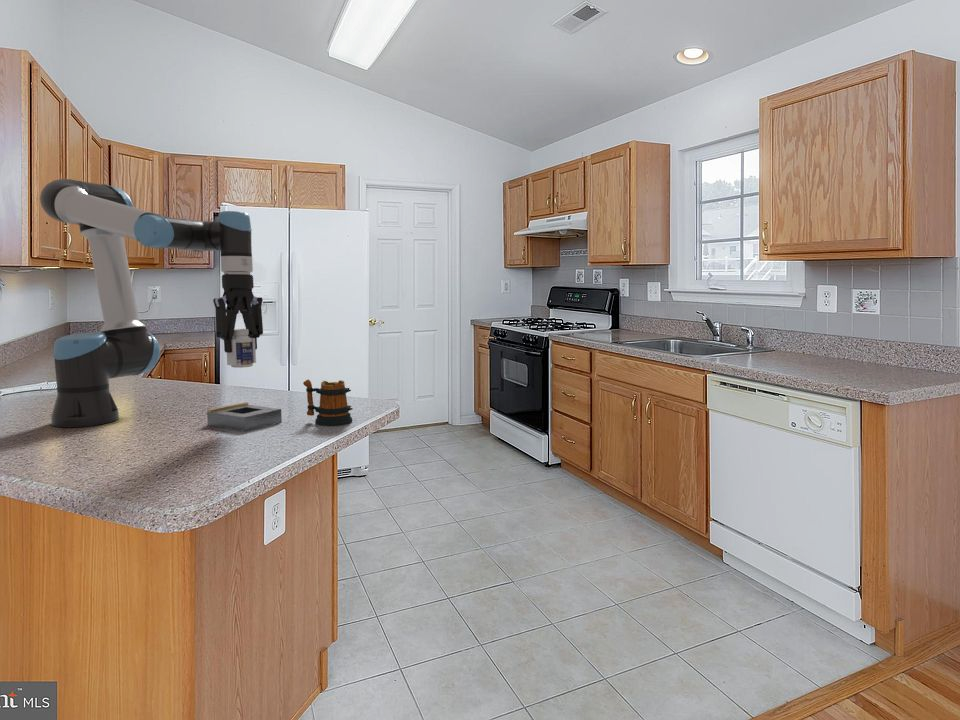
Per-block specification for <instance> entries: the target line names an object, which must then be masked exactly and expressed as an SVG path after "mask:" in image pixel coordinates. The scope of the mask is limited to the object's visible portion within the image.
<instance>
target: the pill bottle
mask: <svg viewBox="0 0 960 720" xmlns="http://www.w3.org/2000/svg"><path fill="white" fill-rule="evenodd" d="M248 334H249V331H248V329H246V328H234V334H233V339H232V340H236V358H237V365H236V366H233V365H230V367H231V368H240V369H241V368H249V367H253V366H254V363H253V354H252V339H251V338H250V337H248Z"/></svg>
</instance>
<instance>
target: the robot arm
mask: <svg viewBox="0 0 960 720" xmlns="http://www.w3.org/2000/svg"><path fill="white" fill-rule="evenodd" d="M39 202H40V206H41V208H42V210H43V211H44V212H45V214H46V215H47V216H48V217H50V218H51V219H53V220H55V221H58V222H61V223H63V224H65V223H66V224H70V225H78V227H79V232H80V235H81V236H83V238H85V239H86V240H87V241H88V245H89V251H90V255H91V261H92V265H93V271H94V276H95V277H94V278H95V281H96V289H97V292H98V298H99V303H100V304H99V305H100V309H101V314H102V318H103V326H102V328H100V330H99V331H88V332H81V333H73V334H69V335H64V336H61V337H58V338H57V339H56V340H55V341H54V343H53V354H52V356H53V359H54V368H55V369H54V370H55V381H56V390H57V391H56V392H57V393H56V399H55V403H54V406H53V409H52V413H51V415H50V416H51V421H50V422H51V425H52V426H53V427H55V428H56V427H57V428H83V427H91V426H99V425H103V424H108V423H109V424H110V423H112V422H115V421H117V420H118V419H120V417H119V416H120V415H119V414H120V413H119V409H118V407H117V405H116V403H115V400H114V398H113V396H112V393H111V391H110V384H109V382H110V381H109V379H110V380H111V379H117V378H123V377H129V376H139V375H141V374H146V373H148V372H151V371H152V370H153V369H154V368H155V366H156V364H158V362H159V359H160V357H161V356H160V355H161V349H160V348H161V347H160V343H159V341H158V339H157V338H155V336H154V335H153V334H151V333H149V332H148V330H147V329H148V328H147V326H146V325H145V324H144V323H143V322H141V321H140V320H139V319H140V318H139V314H138V309H137V302H136V298H135V293H134V288H133V283H132V282H133V281H132V277H131V271H130V266H129V261H128V256H127V250H126V244H125V239H124V238H129V239H132V240H135V241H138V243H139V244H140V245H142V246H144V247H146V248H147V247H148V248H152V249H170V250H172V249H175V250H186V251H190V252H196V253H197V252H199V253H203V252H212V251H214V252H215V251H219V252H220V254H219V255H220V271H221V272H222V273H223V274H222V275H221V287H222V289H223V294H222V296H220V297H218V298H217V297H216V298H215V297H214V298H213V305H214V308H215V336H216V338H219V339H221V340H222V341H223V348H224V349H223V350H224V353H226V363H227V364H226V365H227V366H231V365H233V366H236V365H237V358H236V340H232V339H233V334H234V329H236V328H235V327H236V322H237V316H238V314H239V313H240V314H241V316H242V319H243V323H244V326H245V329H248V331H249V334H248V337H250V338H251V339H252V354H253V364H256V363H257V357H256V355H257V354H256V350H258V343H257V342H258V340H257V339H259V338H260V336H262V335H263V334H264V327H263V326H264V325H263V313H262V305H263V304H262V303H263V297H259V296H255V295H254V293H253V289H254V287H255V286H254V276H253V274H251V273H253V271H254V270H253V269H254V267H253V253H252V252H253V251H252V248H253V247H252V223H251V218H250V215H249V214H248V213H247V212H244V211H234V210H226V211H225V210H224V211H220V212H218V218H217V220H208V221H207V220H206V221H205V220H203V221H202V220H194V219H185V218H178V217H177V218H176V217H169V216H165V215H161V214H158V213H154V212H151V211H148V210H144V209H140V208H136V207H135V206H134V204H133V201H132V200H131V197H130V196H129V195H128V193H127V192H125V191H123V190H122V189H121V188H118V187H115V186H111V185H108V184H104V183H102V184H100V183H94V182H89V181H88V182H87V181H82V180H76V179H71V178H58V179H54V180H52V181H50V182H48V183H47V184H46V185H45V186H44V187H43V188H42V189H41V192H40V196H39Z"/></svg>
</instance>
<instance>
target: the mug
mask: <svg viewBox="0 0 960 720" xmlns="http://www.w3.org/2000/svg"><path fill="white" fill-rule="evenodd" d="M302 384H303V386H305V387H306V390H305V392H306V394H307V395H306V399H307V403H308V405H307V411H306V415H307V416H311V417H312V416H315V412H316V413H318V414H317V415H316V419H315V425H316V426H320V427H340V426H346V425H349V424H351V423H353V417H352V416H351V415H352V414H351V413H350V411H353V407H352V405H348V401H347V400H348V399H347V393H349V392H351V391H352V389H350V387H346V384H345V381H344V380H338V381H334V382H333V381H331V382H330V381H329V382H328V381H327V380H323V381H322V382H321V384H320V388H319V387H314V388H313V385H312V381H311V380H310V379H306V380H304V382H303V383H302ZM313 392H314V393H316V394H319V395H320V397H319V406H315V405H314V399H313Z"/></svg>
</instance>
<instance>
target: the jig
mask: <svg viewBox="0 0 960 720" xmlns="http://www.w3.org/2000/svg"><path fill="white" fill-rule="evenodd" d="M206 416H207V426H212V427H216V428H217V427H218V428H223V429H230V430H236V431H242V432H247V431H251V430H255V429H259V428H264V427H267V426H271V425H275V424H279V423H280V424H281V423H282V420H283V419H282V409H281V408H277V407H269V406H268V407H267V406H262V405H261V406H259V405H256V404H255V405H254V404H249V402H247V401H243V402H238V403H233V404H229V405H224V406H219V407H214V408H210V409H207V411H206Z"/></svg>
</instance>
